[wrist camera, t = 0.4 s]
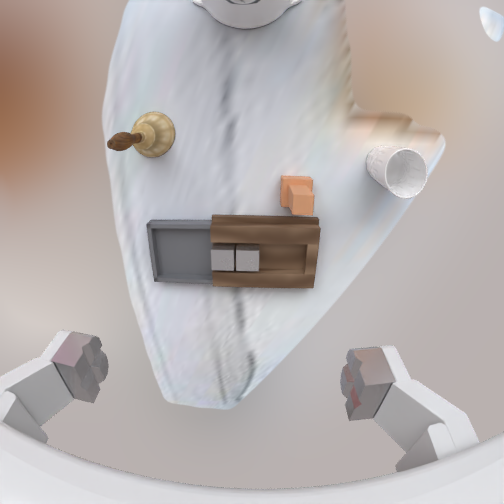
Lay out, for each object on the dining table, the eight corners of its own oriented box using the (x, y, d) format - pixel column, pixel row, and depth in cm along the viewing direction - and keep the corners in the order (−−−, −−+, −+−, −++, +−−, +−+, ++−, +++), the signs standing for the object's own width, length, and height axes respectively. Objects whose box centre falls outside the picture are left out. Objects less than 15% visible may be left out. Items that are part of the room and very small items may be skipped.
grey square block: (213, 243, 54) (210, 249, 51) (234, 243, 54) (233, 250, 51) (214, 262, 55) (211, 270, 53) (235, 263, 55) (234, 270, 53)
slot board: (212, 214, 53) (209, 220, 50) (317, 217, 53) (321, 223, 50) (215, 282, 59) (213, 290, 56) (310, 284, 58) (312, 292, 56)
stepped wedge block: (281, 175, 50) (286, 187, 40) (309, 176, 49) (321, 189, 40) (280, 202, 52) (285, 220, 42) (307, 203, 51) (318, 221, 42)
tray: (150, 219, 53) (146, 224, 51) (212, 220, 53) (210, 224, 51) (157, 275, 58) (154, 281, 56) (215, 277, 58) (213, 284, 56)
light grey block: (237, 243, 54) (236, 250, 51) (259, 243, 54) (259, 250, 51) (237, 263, 55) (236, 270, 53) (258, 263, 55) (258, 271, 53)
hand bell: (172, 159, 48) (138, 175, 34) (130, 155, 48) (84, 171, 34) (178, 113, 45) (144, 110, 31) (134, 111, 45) (88, 111, 30)
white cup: (381, 192, 50) (405, 208, 41) (354, 163, 48) (375, 173, 39) (408, 164, 48) (435, 175, 38) (382, 133, 45) (408, 137, 36)
